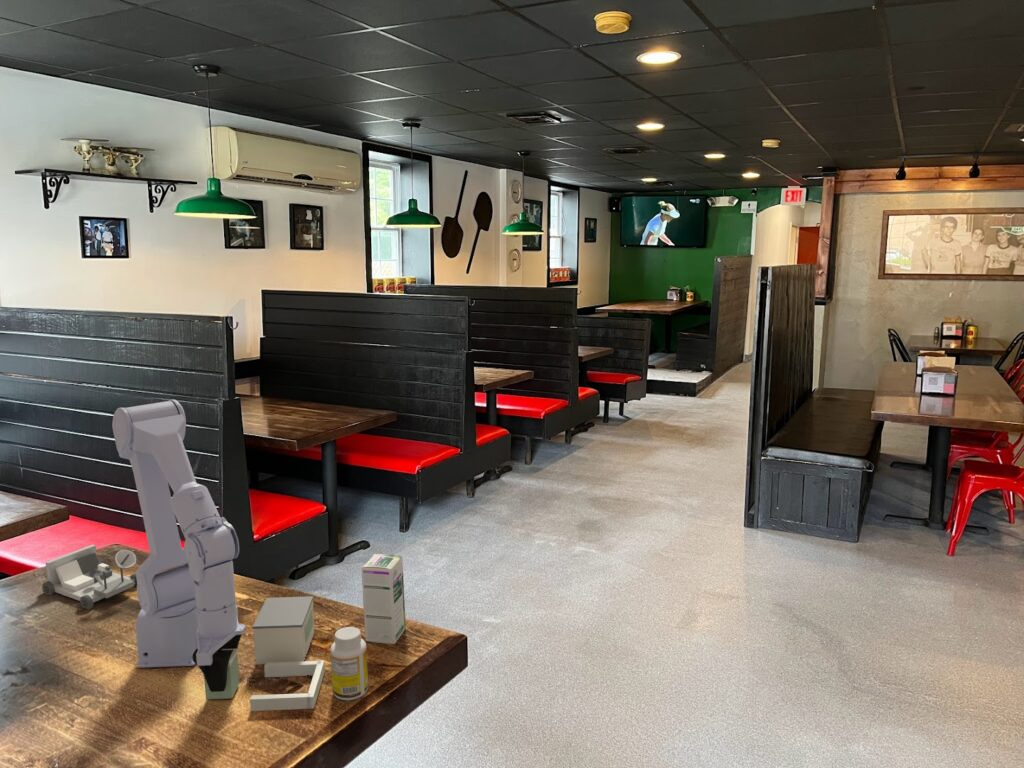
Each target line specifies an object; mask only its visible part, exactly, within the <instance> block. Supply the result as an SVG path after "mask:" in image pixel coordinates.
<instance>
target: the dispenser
mask: <svg viewBox="0 0 1024 768" xmlns="http://www.w3.org/2000/svg"><path fill="white" fill-rule="evenodd" d="M314 617H315V616H314V596H284V597H283V596H282V597H267V598H266V599H265V601H264V602H263V605H262V606H261V609H260V611H259V613H258V614H257V617H256V618H255V620H254V623H253V624H252V626H251V627H252V628H251V629H252V630H253V644H254V659H255V665H265V663H276V662H302V661H304V660H305V661H306V658H305V657H307V655H308V651H309V648H310V647H311V644H310V643H312V641H313V637H314V635H315V618H314ZM306 654H307V655H306Z"/></svg>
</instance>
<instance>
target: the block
mask: <svg viewBox="0 0 1024 768" xmlns="http://www.w3.org/2000/svg"><path fill="white" fill-rule="evenodd" d="M222 650H233V652H232V654H231V657H230V660H229V663H228V669H227V682H226V687H225V690H224V691H221V692H211V691H210V689H209V687H208V684H207V681H206V679H205V677H204V676H203V680H204V689H205V691H204V692H205V700H219V699H221V700H222V699H233V697H234V696H235V693H236V691H237V690H238V687H239V685H240V675H239V673H240V671H239V659H238V652H239V651H238V649H222Z"/></svg>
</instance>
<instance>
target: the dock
mask: <svg viewBox="0 0 1024 768" xmlns="http://www.w3.org/2000/svg"><path fill="white" fill-rule="evenodd" d="M263 668H264V678H278V677H279V678H280V677H282V678H284V677H303V676H304V677H305V676H306V677H308V676H307V675H309V677H311V676H312V679H311V682H310V685H309V689H308V691H307V692H306V693H305V692H304V693H284V694H282V693H279V694H278V693H277V694H256V695H255V694H254V695H250V698H249V706H250V711H251V712H262V711H263V712H264V711H265V712H267V711H268V712H269V711H286V710H287V711H288V710H289V711H290V710H306V709H307V710H309V709H312V710H313V709H315V706H316V703H317V699H318V696H319V692H320V689H321V686H322V683H323V679H324V676H325V673H326V667H325V660H310V661H309V660H305V661H302V662H276V663H266V664H264V666H263ZM310 675H311V676H310Z"/></svg>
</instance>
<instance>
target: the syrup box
mask: <svg viewBox="0 0 1024 768" xmlns="http://www.w3.org/2000/svg"><path fill="white" fill-rule="evenodd" d="M403 561H404V560H403V556H401V555H395V554H388V553H385V554H384V553H374V554H372V556H371V557H370V558H369V559H368V560H367V561H365V563H364V564H363V565H362V566H361V568H360V569H361V584H362V601H363V602H362V604H363V617H364V618H363V619H364V634H365V642H371V643H376V644H377V643H378V644H386V645H387V644H388V645H396V643H397V641H398V640H399V638H401V636H402V634H403V633H404V632H405V629H406V628H407V627H406V608H405V607H406V606H405V605H406V604H405V602H406V601H405V584H404V583H405V582H404V564H403Z"/></svg>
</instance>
